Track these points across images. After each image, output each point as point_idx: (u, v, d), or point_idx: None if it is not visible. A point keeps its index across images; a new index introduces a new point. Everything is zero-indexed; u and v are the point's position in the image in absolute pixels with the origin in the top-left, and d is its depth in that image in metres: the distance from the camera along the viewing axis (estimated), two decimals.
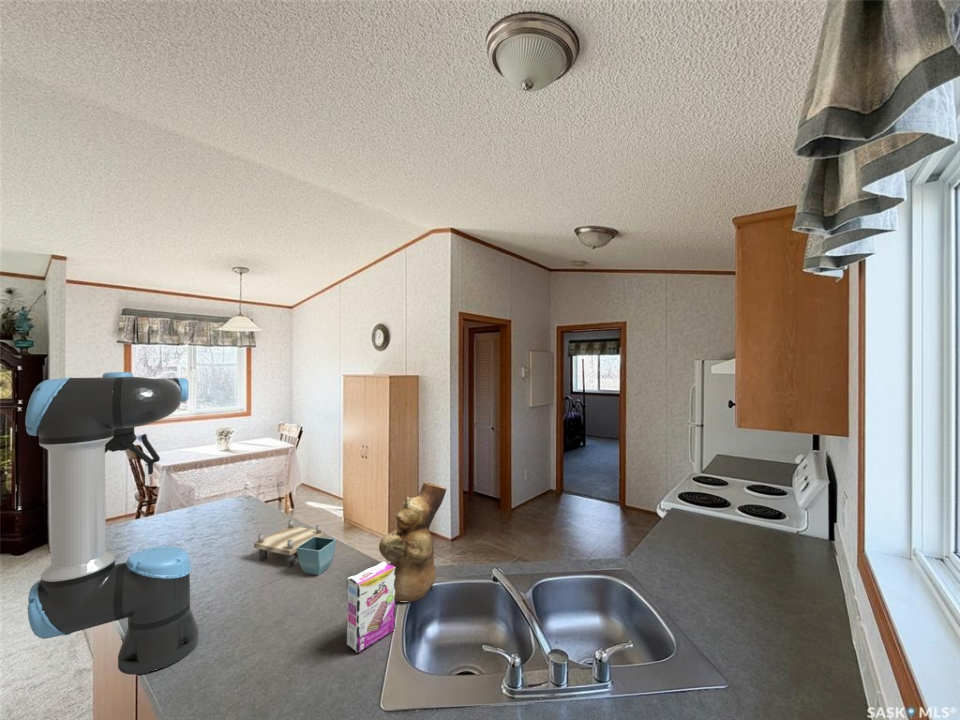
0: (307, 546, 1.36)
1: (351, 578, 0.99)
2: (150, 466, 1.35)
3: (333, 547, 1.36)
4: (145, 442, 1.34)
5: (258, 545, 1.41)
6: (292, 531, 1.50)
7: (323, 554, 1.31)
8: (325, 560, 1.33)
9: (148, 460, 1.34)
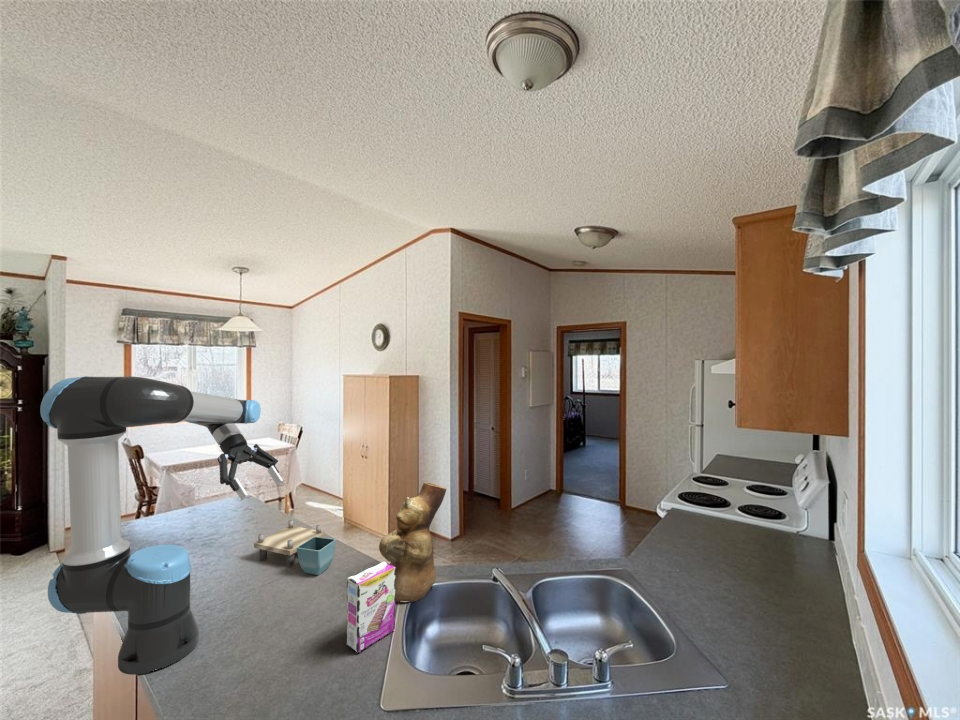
0: (307, 546, 1.36)
1: (351, 578, 0.99)
2: (274, 467, 1.45)
3: (333, 547, 1.36)
4: (260, 449, 1.46)
5: (258, 545, 1.41)
6: (292, 531, 1.50)
7: (323, 554, 1.31)
8: (325, 560, 1.33)
9: (270, 462, 1.45)
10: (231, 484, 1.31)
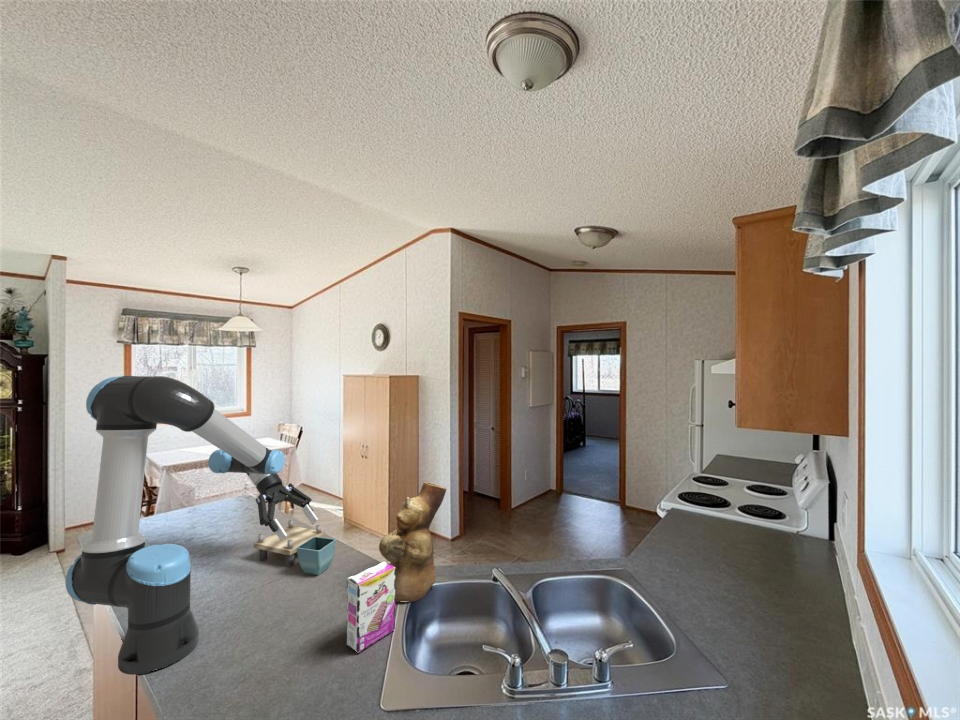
0: (307, 546, 1.36)
1: (351, 578, 0.99)
2: (308, 506, 1.47)
3: (333, 547, 1.36)
4: (294, 488, 1.48)
5: (258, 545, 1.41)
6: (292, 531, 1.50)
7: (323, 554, 1.31)
8: (325, 560, 1.33)
9: (305, 501, 1.47)
10: (271, 525, 1.32)
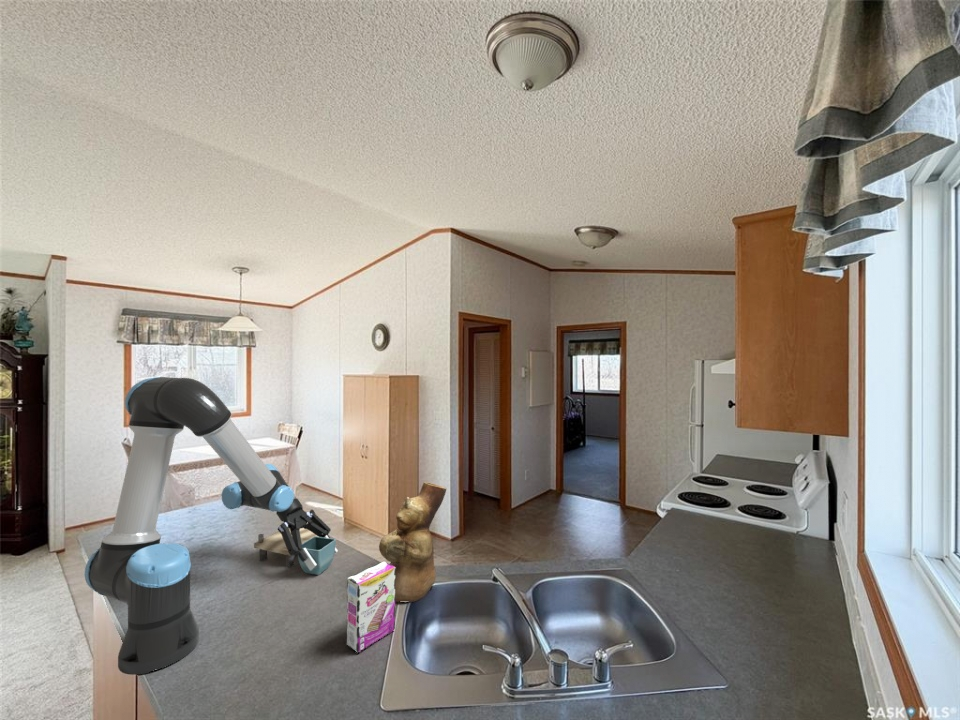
0: (307, 546, 1.36)
1: (351, 578, 0.99)
2: (328, 537, 1.40)
3: (333, 547, 1.36)
4: (315, 515, 1.42)
5: (258, 545, 1.41)
6: None
7: (323, 554, 1.31)
8: (325, 560, 1.33)
9: (324, 531, 1.40)
10: (300, 554, 1.29)
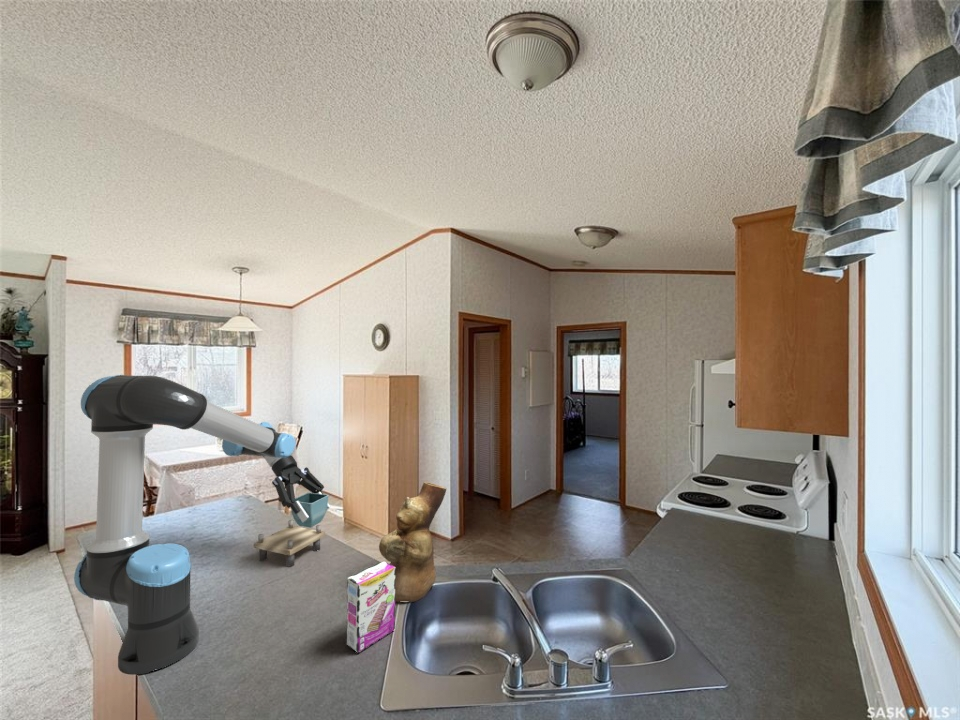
0: (301, 501, 1.41)
1: (351, 578, 0.99)
2: (321, 493, 1.44)
3: (326, 502, 1.40)
4: (309, 473, 1.47)
5: (258, 545, 1.41)
6: (292, 531, 1.50)
7: (315, 507, 1.36)
8: (317, 513, 1.37)
9: (318, 487, 1.45)
10: (293, 506, 1.33)
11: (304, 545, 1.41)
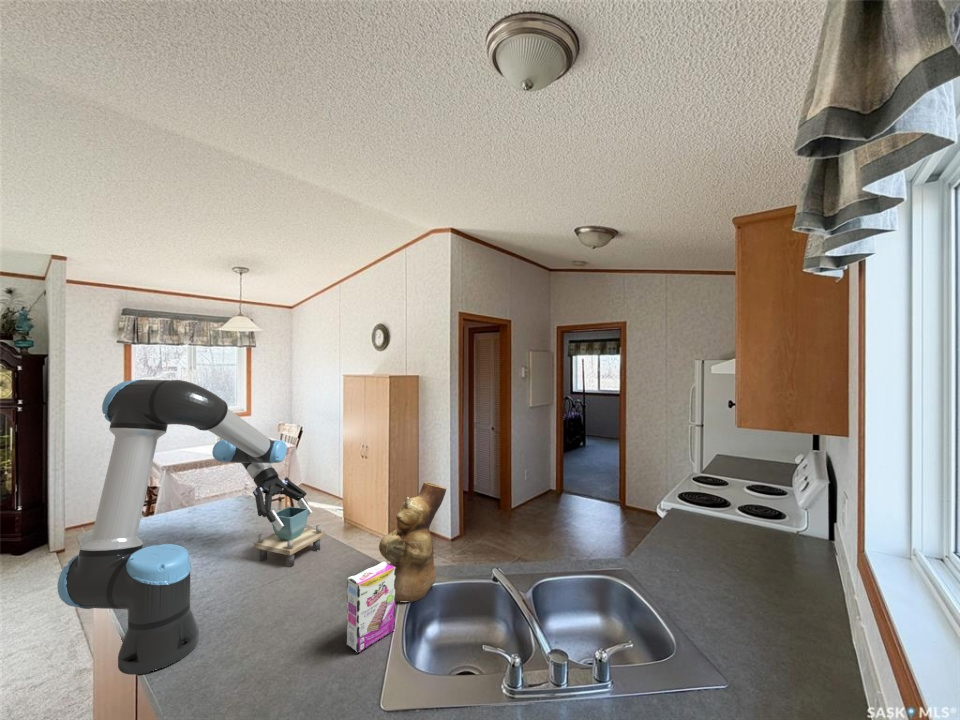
0: (281, 515, 1.47)
1: (351, 578, 0.99)
2: (303, 499, 1.53)
3: (305, 516, 1.47)
4: (290, 482, 1.54)
5: (258, 545, 1.41)
6: None
7: (295, 521, 1.43)
8: (297, 527, 1.44)
9: (300, 494, 1.53)
10: (268, 516, 1.39)
11: (304, 545, 1.41)
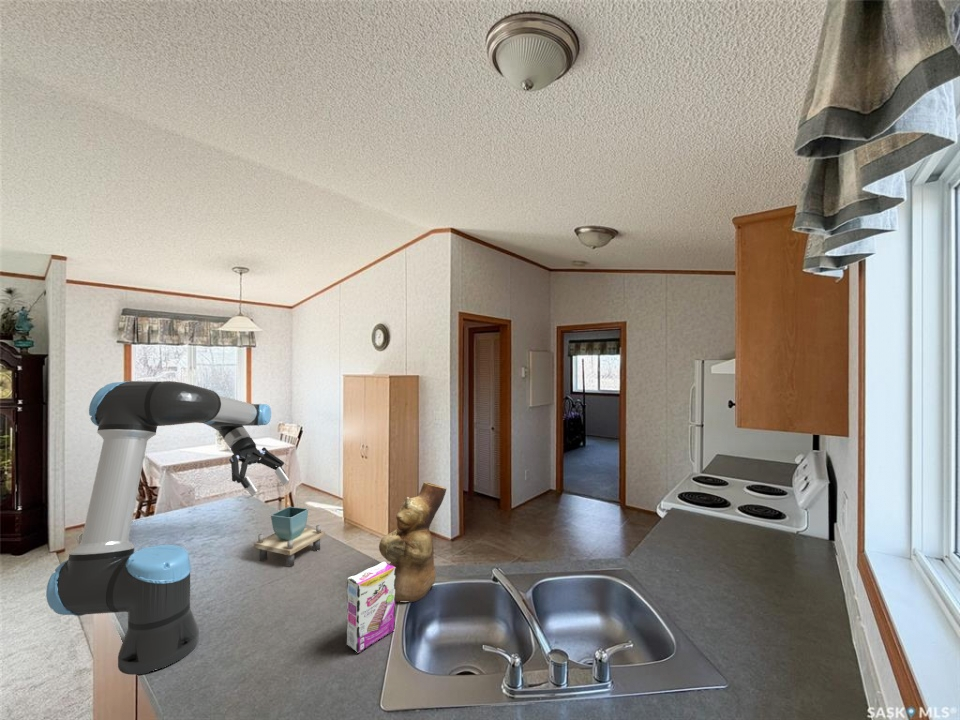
0: (281, 515, 1.47)
1: (351, 578, 0.99)
2: (281, 468, 1.56)
3: (305, 516, 1.47)
4: (268, 452, 1.57)
5: (258, 545, 1.41)
6: None
7: (295, 521, 1.43)
8: (297, 527, 1.44)
9: (277, 463, 1.56)
10: (242, 481, 1.41)
11: (304, 545, 1.41)
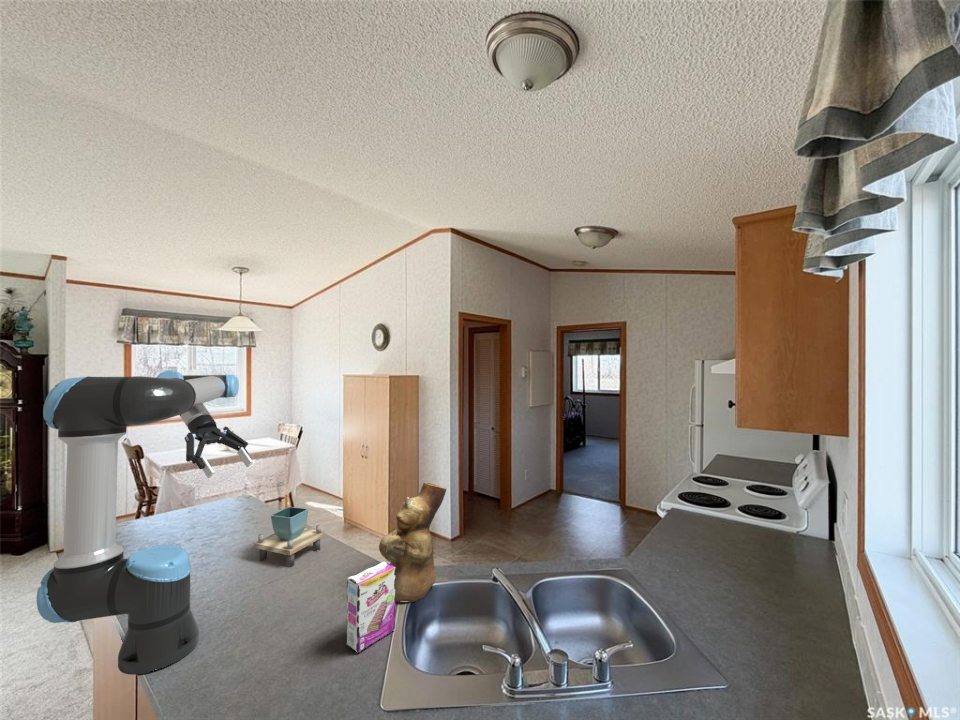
0: (281, 515, 1.47)
1: (351, 578, 0.99)
2: (244, 449, 1.44)
3: (305, 516, 1.47)
4: (230, 432, 1.44)
5: (258, 545, 1.41)
6: None
7: (295, 521, 1.43)
8: (297, 527, 1.44)
9: (240, 444, 1.44)
10: (197, 462, 1.29)
11: (304, 545, 1.41)
